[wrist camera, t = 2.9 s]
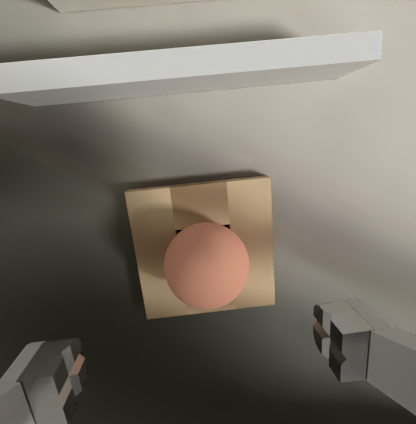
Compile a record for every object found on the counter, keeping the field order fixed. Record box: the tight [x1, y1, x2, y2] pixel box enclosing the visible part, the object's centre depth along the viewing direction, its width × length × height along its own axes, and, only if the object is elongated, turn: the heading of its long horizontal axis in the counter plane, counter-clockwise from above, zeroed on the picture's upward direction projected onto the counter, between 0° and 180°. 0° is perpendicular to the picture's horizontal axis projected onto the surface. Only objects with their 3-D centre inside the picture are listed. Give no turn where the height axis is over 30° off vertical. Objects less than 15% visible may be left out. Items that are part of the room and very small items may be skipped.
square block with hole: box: [124, 175, 275, 319], centre depth 18 cm, size 9×9×1 cm
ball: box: [164, 222, 249, 310], centre depth 16 cm, size 5×5×5 cm
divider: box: [0, 30, 383, 107], centre depth 14 cm, size 1×18×4 cm, turn 95°
